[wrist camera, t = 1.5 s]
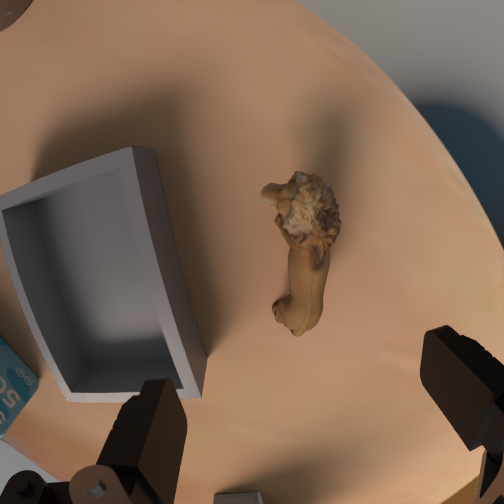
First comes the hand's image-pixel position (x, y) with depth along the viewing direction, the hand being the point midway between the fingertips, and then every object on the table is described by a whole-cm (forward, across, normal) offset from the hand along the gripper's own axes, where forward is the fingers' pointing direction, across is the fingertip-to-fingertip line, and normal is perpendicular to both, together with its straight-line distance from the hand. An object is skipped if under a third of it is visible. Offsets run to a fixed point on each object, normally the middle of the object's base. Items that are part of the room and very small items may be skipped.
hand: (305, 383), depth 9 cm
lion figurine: (+19, -2, +1) cm, 19 cm away
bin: (+19, +15, +1) cm, 24 cm away
